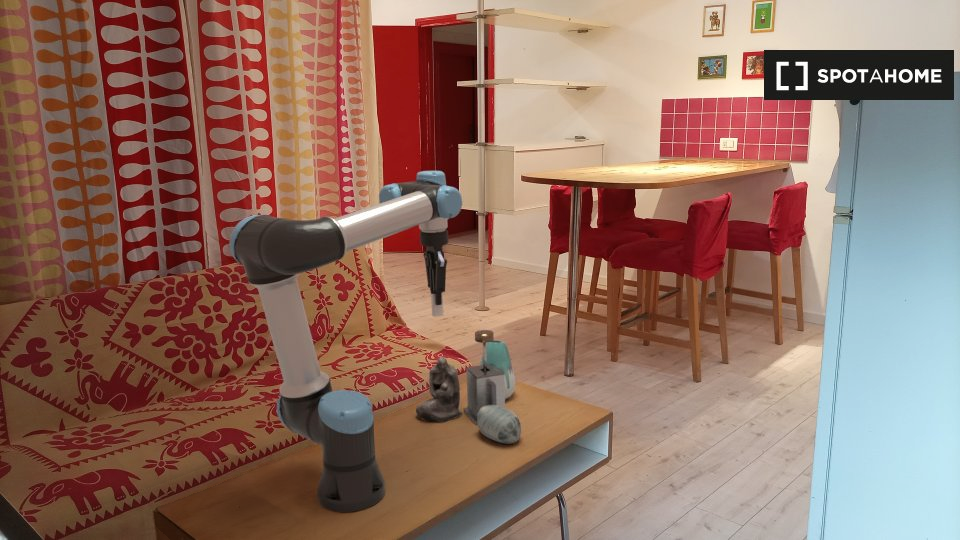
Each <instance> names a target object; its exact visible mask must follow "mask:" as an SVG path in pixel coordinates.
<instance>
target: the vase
mask: <svg viewBox="0 0 960 540" xmlns="http://www.w3.org/2000/svg"><path fill="white" fill-rule="evenodd" d="M486 354H487V364H492V363H494V364H495V365H496V366H497V367H498V368H499V369H501V370H502V371H503V372H504V383H505V400H507V399H509V398H510V397H511V396H512V395H513V393H514V391H515V389H516V376H515V371H514V370H515V369H514V367H513V363H512V360H511V357H510V353H509V349H508V346H507V344H506V343H505V341H503V340H500V339H494V340H493V341H491V342H487V343H486ZM479 365H483V353H482V355H481V359H480V363H479Z"/></svg>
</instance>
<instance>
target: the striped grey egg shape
mask: <svg viewBox="0 0 960 540" xmlns="http://www.w3.org/2000/svg"><path fill="white" fill-rule="evenodd" d="M477 423H478V425H477V427H478V430H479V432H480V433H481V434H482V435H483V436H485V437H486V438H488V439H490V440H492V441H496V442H497V443H501V444H506V445H507V444H508V445H509V444H516V443H517V442H518V441H519V439H520V437H521V434H522V427H521V421H520V419H519V417H518V416H517V415H516V413H515V412H513V411H512V410H511V409H508V408H507V407H505V408H504V407H502V406H497V405H487V406H484V407H482V408H481V409H480V410H479V412H478V416H477Z"/></svg>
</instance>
